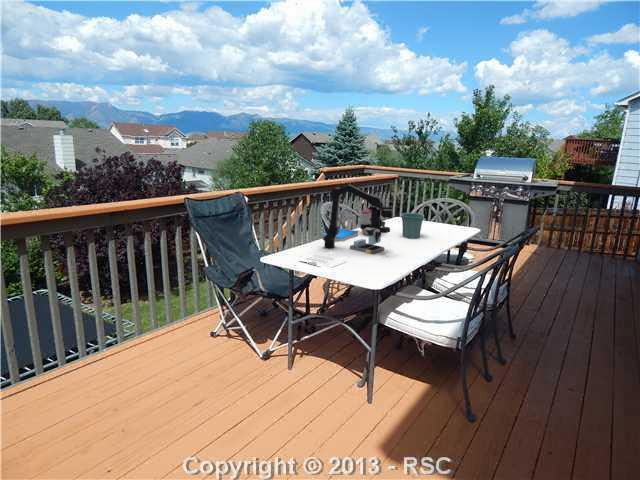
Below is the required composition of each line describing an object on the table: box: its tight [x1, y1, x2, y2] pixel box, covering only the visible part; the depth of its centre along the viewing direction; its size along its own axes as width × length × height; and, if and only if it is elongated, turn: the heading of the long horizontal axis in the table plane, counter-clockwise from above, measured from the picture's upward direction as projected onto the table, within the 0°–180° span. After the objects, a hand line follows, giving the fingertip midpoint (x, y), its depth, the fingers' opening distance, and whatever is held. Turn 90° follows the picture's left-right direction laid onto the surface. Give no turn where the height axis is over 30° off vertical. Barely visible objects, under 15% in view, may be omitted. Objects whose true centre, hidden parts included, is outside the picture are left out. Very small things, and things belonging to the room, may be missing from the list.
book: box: [321, 228, 359, 243], centre depth 293 cm, size 17×4×25 cm
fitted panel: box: [353, 238, 367, 247], centre depth 262 cm, size 9×3×5 cm, turn 139°
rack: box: [349, 242, 385, 255], centre depth 259 cm, size 13×19×3 cm
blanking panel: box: [367, 234, 382, 245], centre depth 254 cm, size 9×3×5 cm, turn 139°
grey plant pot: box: [359, 208, 384, 236], centre depth 301 cm, size 18×18×21 cm
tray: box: [301, 252, 346, 268], centre depth 240 cm, size 20×28×4 cm
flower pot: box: [400, 212, 425, 239], centre depth 296 cm, size 16×16×16 cm
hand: (374, 241), depth 254 cm, fingers closed on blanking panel, 3 cm apart
